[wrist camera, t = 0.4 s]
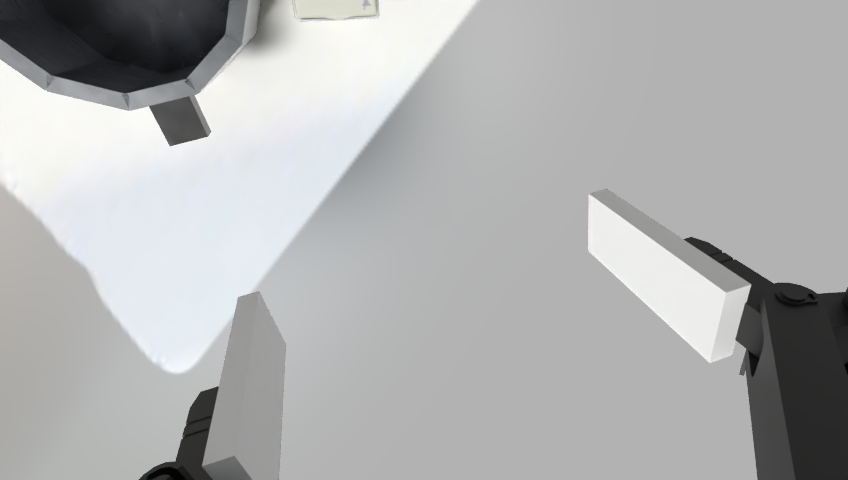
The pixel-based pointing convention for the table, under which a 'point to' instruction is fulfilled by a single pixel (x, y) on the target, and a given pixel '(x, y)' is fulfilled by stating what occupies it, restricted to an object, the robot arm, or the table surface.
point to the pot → (129, 52)
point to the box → (335, 10)
